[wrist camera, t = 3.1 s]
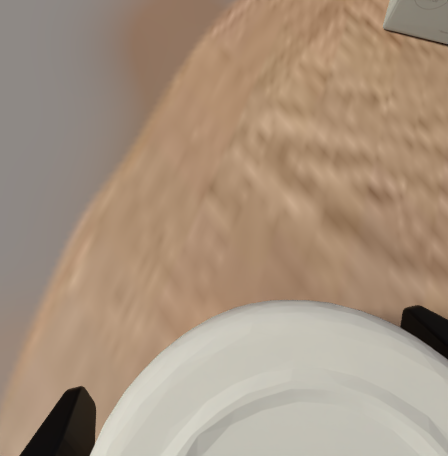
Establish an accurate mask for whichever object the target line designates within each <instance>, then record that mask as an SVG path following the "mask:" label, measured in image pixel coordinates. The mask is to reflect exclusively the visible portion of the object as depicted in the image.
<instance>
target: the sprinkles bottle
mask: <svg viewBox="0 0 448 456" xmlns="http://www.w3.org/2000/svg"><path fill="white" fill-rule="evenodd" d="M90 456H448V360H447V359H446V358H445V357H443V356H442V355H441V354H439V353H438V352H437V351H435V350H434V349H433V348H431V347H430V346H428V345H427V344H426V343H424V342H423V341H421V340H420V339H418V338H417V337H415V336H413V335H412V334H410V333H408V332H407V331H405V330H403V329H402V328H400V327H398V326H396V325H394V324H392V323H390V322H387V321H385V320H383V319H381V318H379V317H376V316H373V315H371V314H368V313H365V312H363V311H360V310H356V309H352V308H348V307H344V306H340V305H337V304H333V303H327V302H318V301H309V300H272V301H264V302H258V303H252V304H248V305H244V306H240V307H236V308H233V309H231V310H228V311H226V312H223V313H220V314H218V315H216V316H214V317H211V318H210V319H208V320H206V321H205V322H203V323H201V324H199V325H198V326H196V327H194V328H192V329H191V330H189V331H188V332H187V333H185V334H184V335H182V336H181V337H180V338H178V339H177V340H176V341H174V342H173V343H172V344H171V345H169V346H168V347H167V348H166V349H165V350H163V351H162V352H161V353H160V354H159V355H158V356H157V357H156V358H155V359H154V360H153V361H152V362H151V363H150V364H149V365H148V366H147V367H146V368H145V369H144V370H143V371H142V372H141V373H140V374H139V375H138V377H137V378H136V379H135V380H134V381H133V382H132V384H131V385H130V386H129V387H128V388H127V390H126V391H125V393H124V394H123V395H122V397H121V398H120V400H119V401H118V403H117V404H116V406H115V408H114V409H113V411H112V412H111V414H110V416H109V417H108V419H107V420H106V422H105V424H104V426H103V428H102V430H101V432H100V434H99V437H98V439H97V441H96V443H95V445H94V447H93V450H92V452H91V454H90Z"/></svg>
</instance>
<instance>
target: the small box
mask: <svg viewBox="0 0 448 456" xmlns="http://www.w3.org/2000/svg"><path fill="white" fill-rule="evenodd" d="M383 28H384V29H386V30H391V31H395V32H399V33H403V34H407V35H412V36H416V37H420V38H424V39H428V40H432V41H436V42H440V43H444V44H448V0H390V2H389V5H388V9H387V12H386V16H385V20H384V24H383Z"/></svg>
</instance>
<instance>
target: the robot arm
mask: <svg viewBox="0 0 448 456" xmlns="http://www.w3.org/2000/svg"><path fill="white" fill-rule="evenodd" d="M400 328H402V329H403V330H405V331H407V332H408V333H410V334H412V335H413V336H415V337H417V338H418V339H420V340H421V341H423V342H424V343H426V344H427V345H428V346H430V347H431V348H433V349H434V350H435V351H437V352H438V353H439V354H441V355H442V356H443V357H445V358H446V359H447V360H448V320H447V319H445V318H443V317H442V316H440V315H438V314H436V313H434V312H432V311H430V310H428V309H426V308H424V307H422V306H419V305H415V306H411V307H407V308H405V309H404V310H403V314H402V320H401V326H400ZM95 425H96V406H95V403H94V401H93V399H92V398H91V396H90V395H89V393H88V392H87V390H86V389H85V388H84V387H82V386H79V387H75V388H71V389H68V390H67V391H66V392H65V393H64V394H63V395H62V397H61V398H60V400H59V401H58V402H57V404H56V405H55V407H54V408H53V409H52V411H51V412H50V414H49V415H48V416H47V418H46V419H45V421H44V422H43V423H42V425H41V426H40V428H39V429H38V430H37V432H36V433H35V435H34V436H33V438H32V439H31V440H30V442H29V443H28V445H27V446H26V447H25V449H24V450H23V452H22V453H21V454H20V456H90V454H91V452H92V450H93V447H94V445H95Z"/></svg>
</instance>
